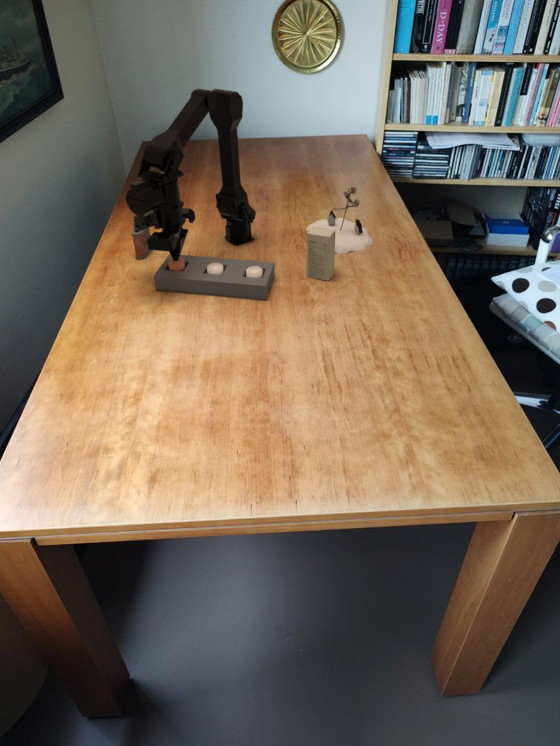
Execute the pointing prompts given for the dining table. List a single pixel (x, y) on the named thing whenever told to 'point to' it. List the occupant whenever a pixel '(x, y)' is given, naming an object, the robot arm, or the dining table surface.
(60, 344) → the dining table surface
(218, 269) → the button
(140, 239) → the lighter
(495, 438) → the dining table surface
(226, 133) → the robot arm
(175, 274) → the button panel
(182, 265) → the terracotta button
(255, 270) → the button
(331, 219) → the figurine
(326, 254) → the skincare box
